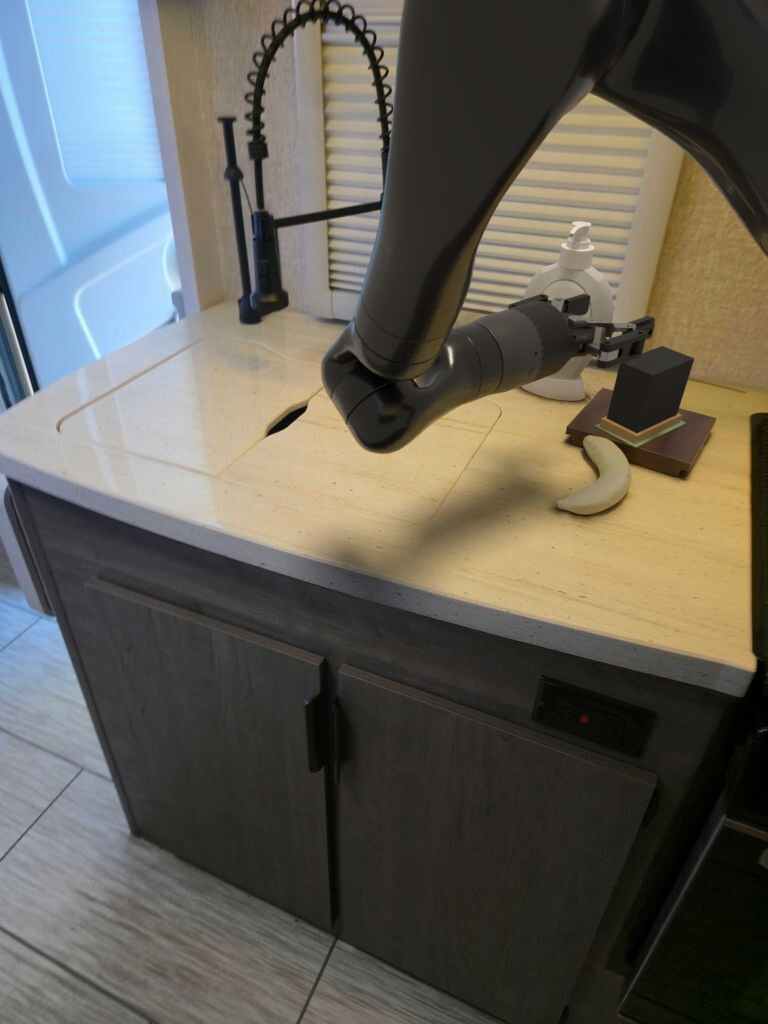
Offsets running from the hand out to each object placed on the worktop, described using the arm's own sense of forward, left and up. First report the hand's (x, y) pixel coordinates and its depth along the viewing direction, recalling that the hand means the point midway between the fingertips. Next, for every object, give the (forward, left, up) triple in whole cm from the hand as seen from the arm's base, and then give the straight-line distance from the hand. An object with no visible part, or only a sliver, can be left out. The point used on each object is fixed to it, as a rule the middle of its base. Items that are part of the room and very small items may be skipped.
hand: (617, 314), depth 73 cm
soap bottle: (+11, -16, -20) cm, 28 cm away
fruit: (-2, +3, -20) cm, 20 cm away
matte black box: (-4, -10, -17) cm, 20 cm away
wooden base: (-4, -11, -20) cm, 23 cm away
